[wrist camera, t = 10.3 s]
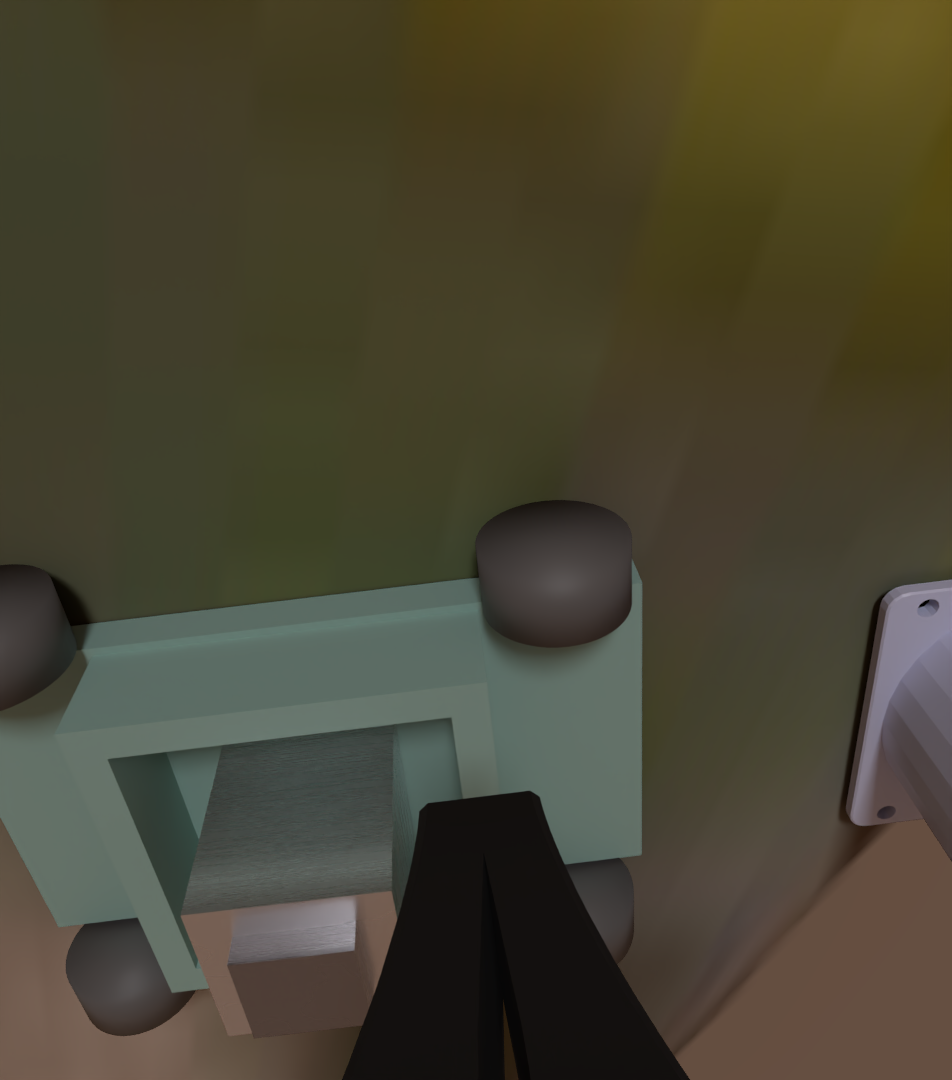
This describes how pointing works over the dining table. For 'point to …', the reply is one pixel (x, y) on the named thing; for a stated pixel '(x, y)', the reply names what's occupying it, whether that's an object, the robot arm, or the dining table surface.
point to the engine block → (300, 879)
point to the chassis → (318, 729)
